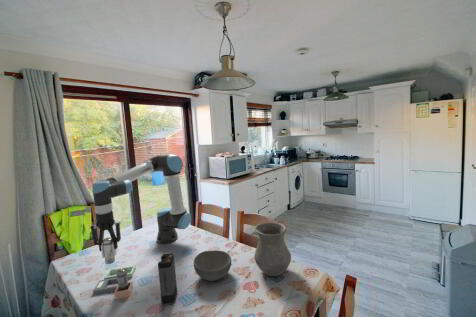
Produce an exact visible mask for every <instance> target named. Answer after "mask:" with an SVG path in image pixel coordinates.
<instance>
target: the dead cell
mask: <svg viewBox="0 0 476 317" xmlns="http://www.w3.org/2000/svg"><path fill="white" fill-rule="evenodd" d="M120 268H121V267H120ZM117 280H118V282H117V286H118V288H119V291H123V290H128V288H129V285H128V282H129V278H128V277H127V269H126V268H121V269H119V270H118V271H117Z"/></svg>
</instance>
